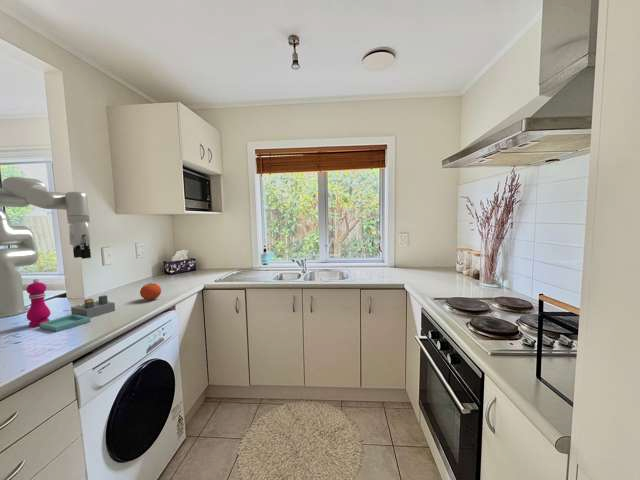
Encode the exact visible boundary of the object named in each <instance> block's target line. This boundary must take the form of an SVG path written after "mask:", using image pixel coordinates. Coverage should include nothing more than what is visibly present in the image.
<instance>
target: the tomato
mask: <svg viewBox="0 0 640 480" xmlns="http://www.w3.org/2000/svg"><path fill="white" fill-rule="evenodd" d="M139 294H140V297H141V298H143V299H144V300H148V301H150V300H151V301H152V300H155V299H158V297H159V296H160V295H161V294H162V287H161V286H160V285H159V284H157V283H155V282H154V283H152V282H151V281H150V282H149V283H146V284H144V285H143V286H141V288H140V291H139Z"/></svg>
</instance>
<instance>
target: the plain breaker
mask: <svg viewBox="0 0 640 480" xmlns="http://www.w3.org/2000/svg"><path fill="white" fill-rule="evenodd" d="M98 300H99V304H105V303H108V302H109V301H108V295H106V294H104V295H100V296H98Z"/></svg>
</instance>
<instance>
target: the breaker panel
mask: <svg viewBox="0 0 640 480" xmlns="http://www.w3.org/2000/svg"><path fill="white" fill-rule="evenodd" d="M70 310H71V313H70V314H71V315H73V314H75V315H80V316H85V317H90V319H91V318H94V317H98V316H102V315H105V314H108V313H111V312H115V311H116V305H115V302H112V301H108V303H105V304H99V299H98V300H94V307H90V308H85V303H83V304H78V305H75V306H71V308H70Z"/></svg>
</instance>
